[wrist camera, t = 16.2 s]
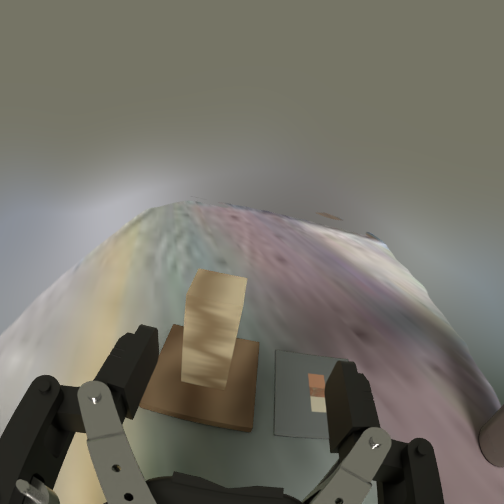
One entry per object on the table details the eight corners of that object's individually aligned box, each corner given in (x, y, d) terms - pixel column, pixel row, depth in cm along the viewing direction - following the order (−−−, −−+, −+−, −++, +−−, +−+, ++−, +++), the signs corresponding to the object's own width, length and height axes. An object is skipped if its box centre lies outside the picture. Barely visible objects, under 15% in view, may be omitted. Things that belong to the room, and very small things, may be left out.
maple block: (229, 360, 34) (247, 278, 29) (224, 390, 30) (243, 306, 25) (190, 352, 34) (198, 268, 29) (181, 381, 30) (186, 294, 25)
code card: (347, 359, 39) (348, 359, 39) (365, 438, 26) (366, 438, 26) (275, 350, 39) (275, 349, 39) (274, 435, 26) (274, 434, 26)
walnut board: (257, 347, 39) (259, 342, 38) (250, 432, 26) (252, 427, 26) (173, 329, 39) (173, 324, 38) (139, 406, 26) (138, 402, 26)
